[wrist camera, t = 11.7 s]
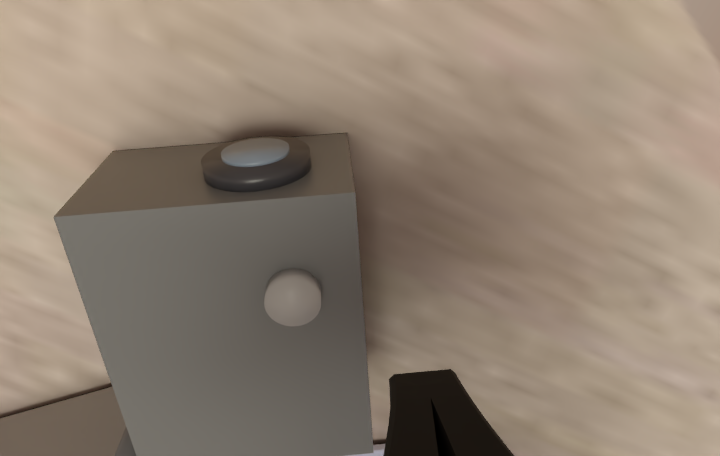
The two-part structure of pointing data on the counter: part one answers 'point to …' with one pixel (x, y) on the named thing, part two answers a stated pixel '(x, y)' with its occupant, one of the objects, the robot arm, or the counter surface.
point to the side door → (68, 429)
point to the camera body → (227, 295)
